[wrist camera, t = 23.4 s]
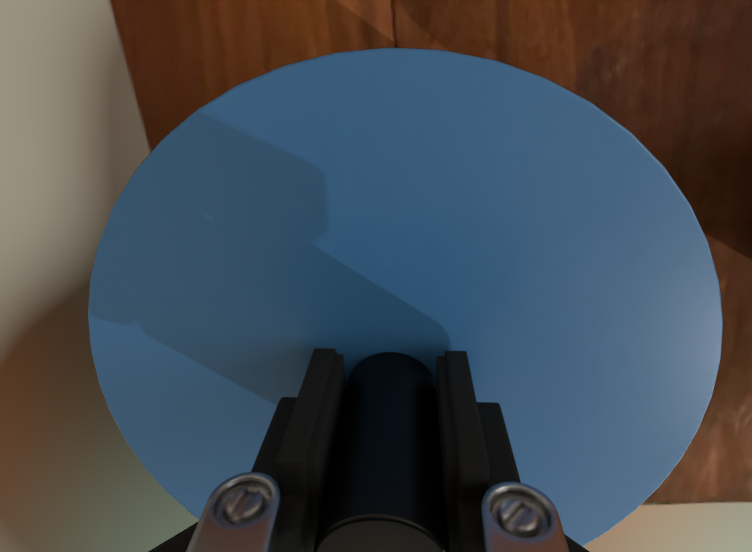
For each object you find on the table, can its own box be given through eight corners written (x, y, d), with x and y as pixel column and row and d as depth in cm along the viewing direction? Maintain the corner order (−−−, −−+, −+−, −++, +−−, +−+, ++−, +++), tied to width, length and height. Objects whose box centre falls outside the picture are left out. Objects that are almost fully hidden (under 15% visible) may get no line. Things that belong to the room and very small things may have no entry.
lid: (172, 547, 18) (61, 769, 12) (35, 59, 11) (-353, 44, 5) (631, 570, 16) (746, 828, 11) (786, 39, 10) (1284, -7, 4)
